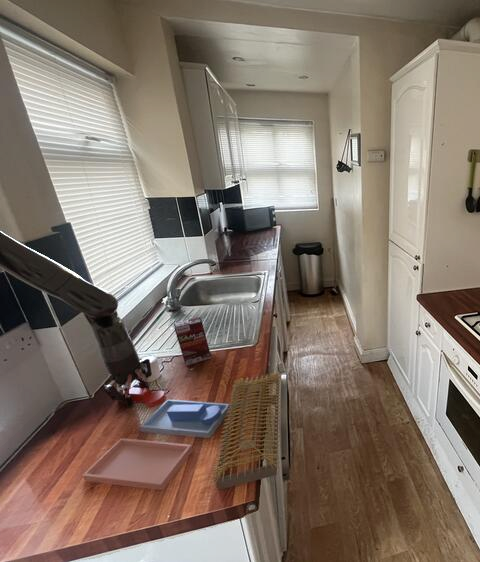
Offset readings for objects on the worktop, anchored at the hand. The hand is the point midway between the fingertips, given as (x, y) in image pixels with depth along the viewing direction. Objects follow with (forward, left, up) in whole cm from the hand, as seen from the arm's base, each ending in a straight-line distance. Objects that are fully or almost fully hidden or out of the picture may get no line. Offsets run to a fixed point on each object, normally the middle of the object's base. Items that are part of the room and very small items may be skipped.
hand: (138, 398), depth 95 cm
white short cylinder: (-5, +10, -1) cm, 11 cm away
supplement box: (+5, +21, -1) cm, 22 cm away
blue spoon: (+25, -6, +1) cm, 25 cm away
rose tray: (+19, -20, 0) cm, 28 cm away
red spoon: (+1, 0, 0) cm, 2 cm away
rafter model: (+41, -6, -1) cm, 42 cm away
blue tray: (+21, -6, 0) cm, 22 cm away
